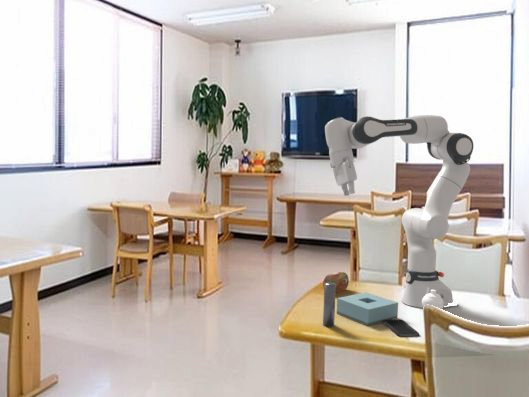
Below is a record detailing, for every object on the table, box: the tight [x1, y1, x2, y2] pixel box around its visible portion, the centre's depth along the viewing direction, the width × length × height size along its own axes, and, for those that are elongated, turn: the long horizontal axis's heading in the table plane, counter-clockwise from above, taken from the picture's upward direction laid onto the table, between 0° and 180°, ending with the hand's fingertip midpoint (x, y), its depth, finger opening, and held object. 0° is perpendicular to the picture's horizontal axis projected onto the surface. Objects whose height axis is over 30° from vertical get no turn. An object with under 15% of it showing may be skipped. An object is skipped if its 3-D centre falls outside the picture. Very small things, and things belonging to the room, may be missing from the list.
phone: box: [382, 319, 420, 338], centre depth 176 cm, size 8×1×15 cm
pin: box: [322, 282, 336, 328], centre depth 177 cm, size 4×4×15 cm
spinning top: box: [422, 290, 444, 309], centre depth 184 cm, size 8×8×12 cm
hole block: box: [336, 291, 399, 327], centre depth 189 cm, size 16×16×6 cm
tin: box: [322, 271, 350, 294], centre depth 222 cm, size 15×3×8 cm, turn 132°
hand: (349, 194), depth 192 cm, fingers open, 8 cm apart
